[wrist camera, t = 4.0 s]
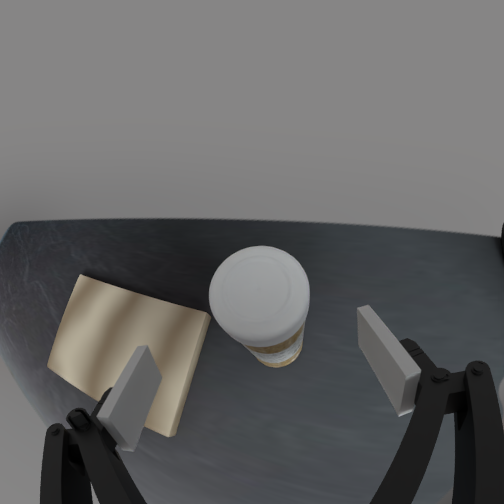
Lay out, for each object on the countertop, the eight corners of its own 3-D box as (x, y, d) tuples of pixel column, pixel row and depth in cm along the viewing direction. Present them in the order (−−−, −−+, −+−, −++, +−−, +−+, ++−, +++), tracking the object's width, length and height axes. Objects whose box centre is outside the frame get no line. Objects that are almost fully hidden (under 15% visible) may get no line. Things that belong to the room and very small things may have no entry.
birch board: (211, 316, 26) (206, 312, 25) (175, 435, 21) (168, 437, 19) (87, 279, 30) (79, 274, 29) (55, 368, 25) (46, 366, 24)
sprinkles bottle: (270, 309, 25) (247, 226, 14) (313, 335, 24) (330, 272, 12) (240, 349, 24) (186, 301, 12) (283, 378, 22) (269, 361, 11)
